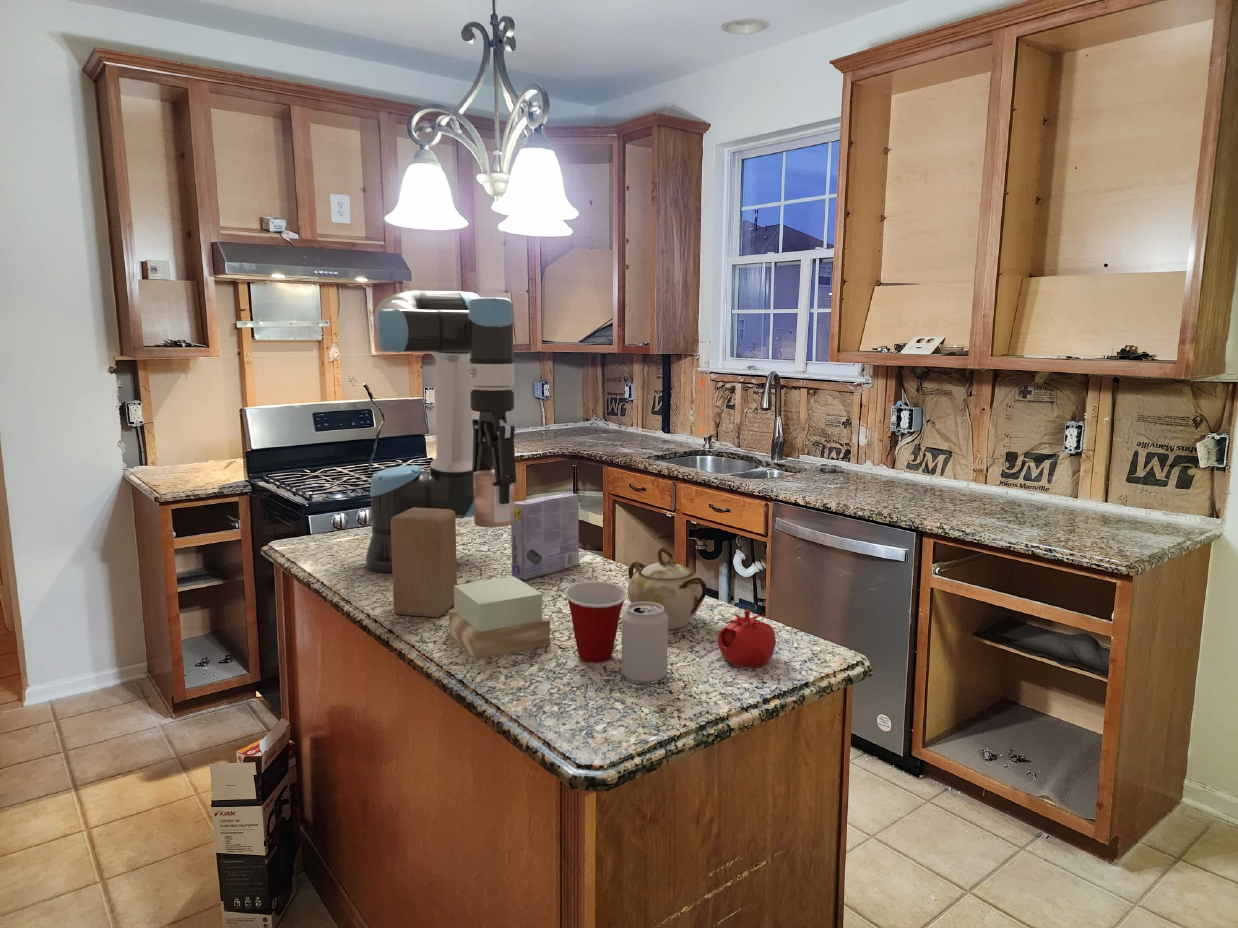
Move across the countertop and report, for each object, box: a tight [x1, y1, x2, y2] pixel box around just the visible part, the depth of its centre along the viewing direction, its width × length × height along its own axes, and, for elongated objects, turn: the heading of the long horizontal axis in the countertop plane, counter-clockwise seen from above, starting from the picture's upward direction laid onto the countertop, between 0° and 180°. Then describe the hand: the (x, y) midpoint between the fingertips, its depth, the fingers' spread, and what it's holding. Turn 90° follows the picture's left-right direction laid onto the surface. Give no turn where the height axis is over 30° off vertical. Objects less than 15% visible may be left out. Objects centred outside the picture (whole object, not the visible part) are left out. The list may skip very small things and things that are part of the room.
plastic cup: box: [564, 580, 628, 664], centre depth 139 cm, size 11×11×12 cm
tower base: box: [448, 608, 551, 660], centre depth 148 cm, size 14×14×5 cm
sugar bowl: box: [626, 547, 708, 631], centre depth 156 cm, size 20×15×15 cm
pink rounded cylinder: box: [473, 469, 515, 528], centre depth 143 cm, size 7×7×9 cm
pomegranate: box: [717, 609, 777, 668], centre depth 139 cm, size 10×10×9 cm
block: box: [391, 507, 458, 618], centre depth 162 cm, size 10×10×20 cm
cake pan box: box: [510, 493, 580, 582], centre depth 189 cm, size 19×5×18 cm, turn 139°
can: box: [621, 602, 669, 684], centre depth 131 cm, size 8×8×12 cm
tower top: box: [453, 576, 543, 632], centre depth 146 cm, size 12×12×5 cm
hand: (494, 516), depth 144 cm, fingers closed on pink rounded cylinder, 7 cm apart
